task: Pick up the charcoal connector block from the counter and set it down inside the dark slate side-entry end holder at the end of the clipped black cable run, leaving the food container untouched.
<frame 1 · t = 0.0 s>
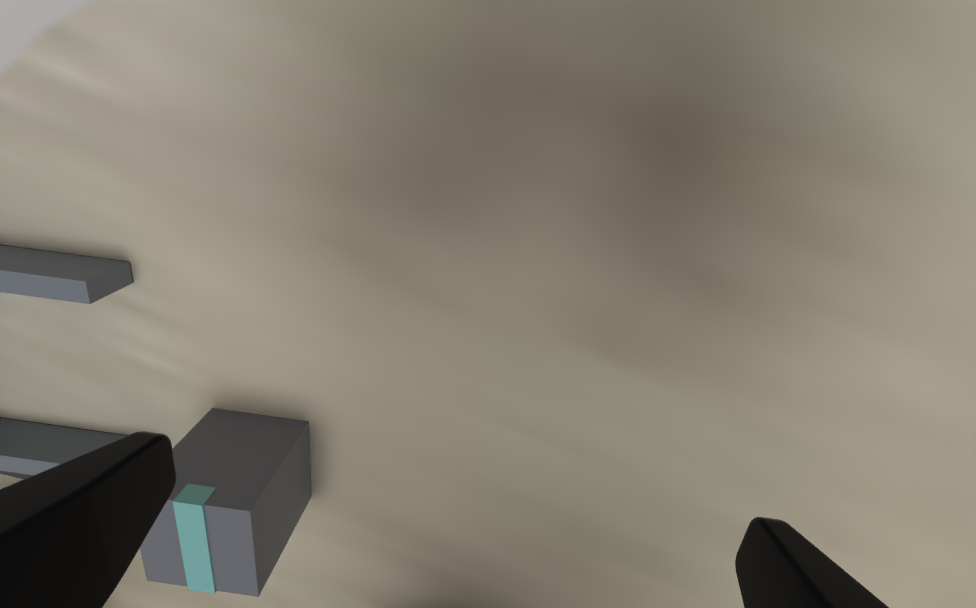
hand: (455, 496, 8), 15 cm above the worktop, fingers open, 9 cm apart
holder: (49, 353, 25), on the worktop
connector: (263, 453, 27), on the worktop
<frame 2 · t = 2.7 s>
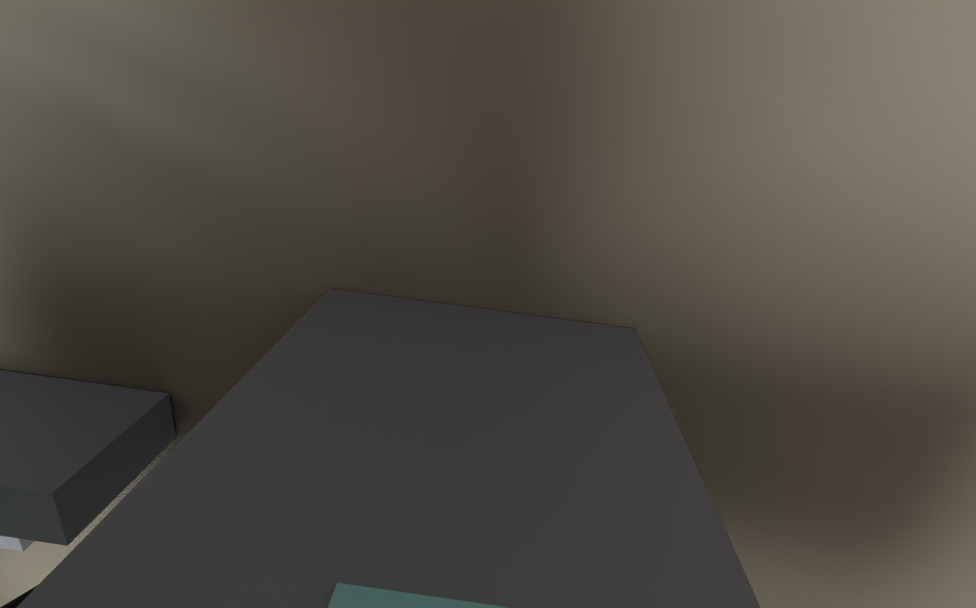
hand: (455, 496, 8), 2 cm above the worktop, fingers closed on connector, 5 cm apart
connector: (466, 433, 9), on the worktop, touching gripper
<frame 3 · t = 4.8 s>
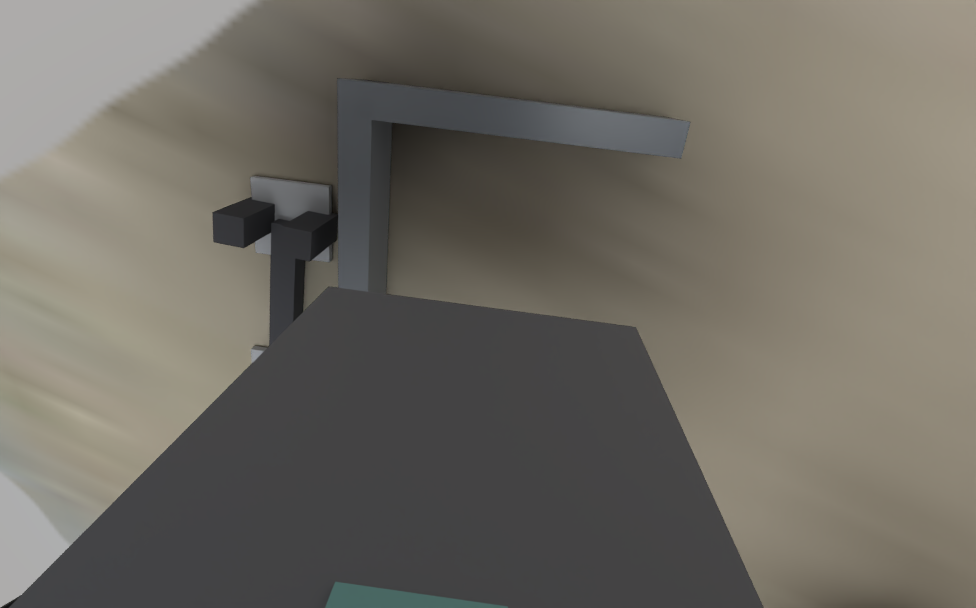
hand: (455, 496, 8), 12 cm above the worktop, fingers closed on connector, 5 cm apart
holder: (494, 258, 19), on the worktop
connector: (466, 432, 9), point 10 cm above the worktop, touching gripper
when the fingers open (3 cm above the worktop, at t = 7.1 s): connector drops 2 cm, on the worktop.
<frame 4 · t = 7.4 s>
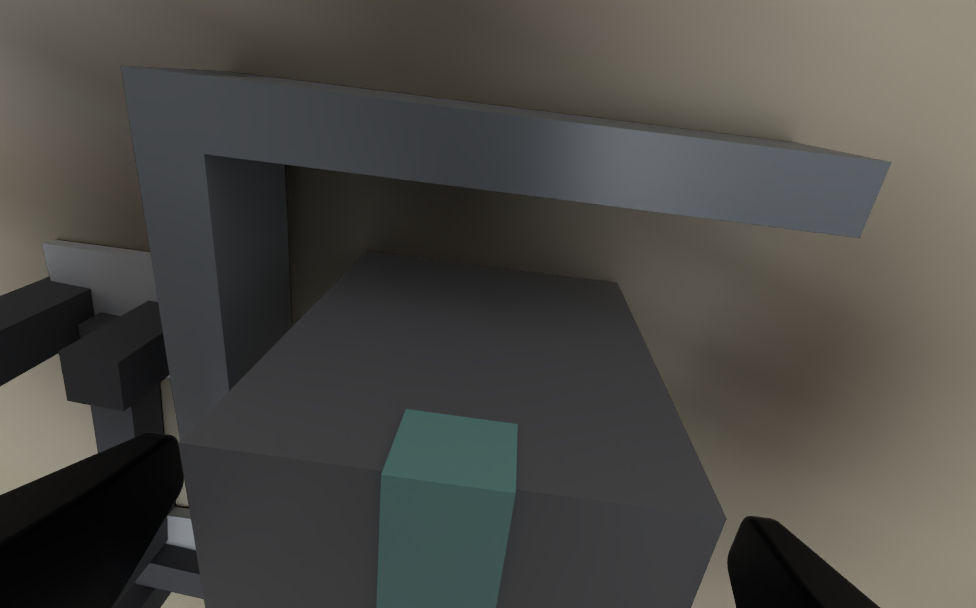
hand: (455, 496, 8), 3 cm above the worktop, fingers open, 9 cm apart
holder: (474, 376, 11), on the worktop
connector: (478, 373, 11), on the worktop
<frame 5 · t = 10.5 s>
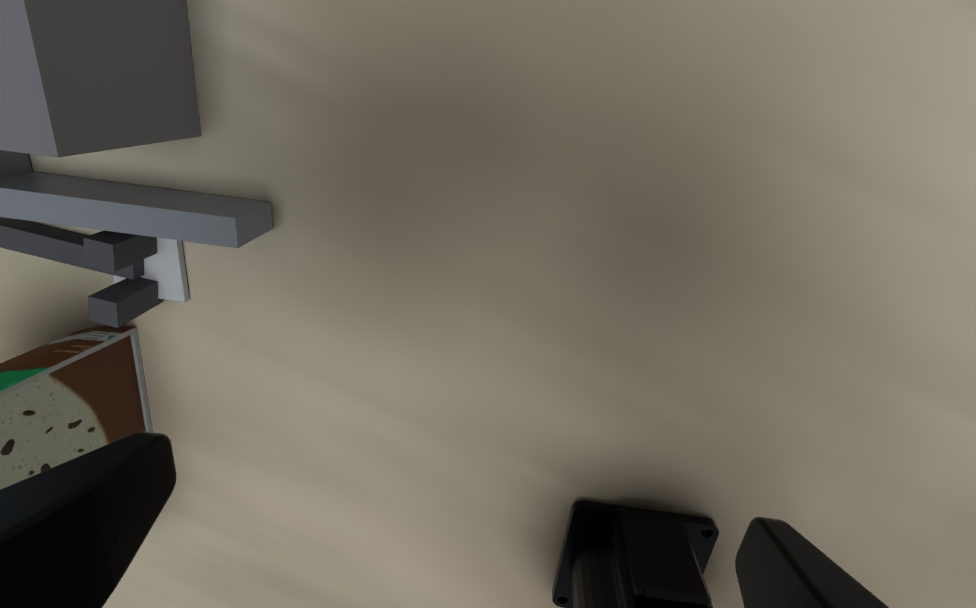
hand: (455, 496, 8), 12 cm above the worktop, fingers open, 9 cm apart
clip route: (629, 557, 24), resting in holder
food container: (87, 405, 23), on the worktop
holder: (116, 49, 17), on the worktop
connector: (120, 49, 17), on the worktop
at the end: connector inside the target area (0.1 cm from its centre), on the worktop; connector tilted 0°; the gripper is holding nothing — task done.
